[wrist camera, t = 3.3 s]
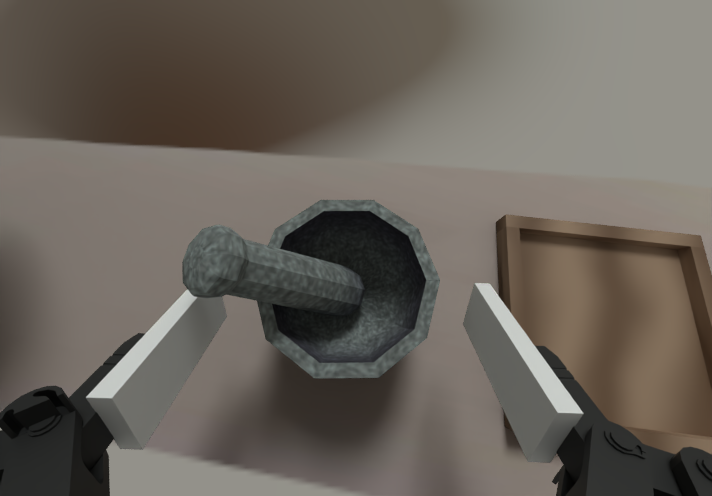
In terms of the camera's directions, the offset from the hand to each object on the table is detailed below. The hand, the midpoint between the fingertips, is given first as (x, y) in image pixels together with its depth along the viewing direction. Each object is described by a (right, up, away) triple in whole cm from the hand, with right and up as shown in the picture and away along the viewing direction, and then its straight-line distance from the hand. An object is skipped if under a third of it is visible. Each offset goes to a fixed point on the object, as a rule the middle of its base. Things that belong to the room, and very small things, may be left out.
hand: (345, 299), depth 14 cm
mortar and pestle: (-1, -1, +7) cm, 7 cm away
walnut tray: (+19, -3, +6) cm, 20 cm away
